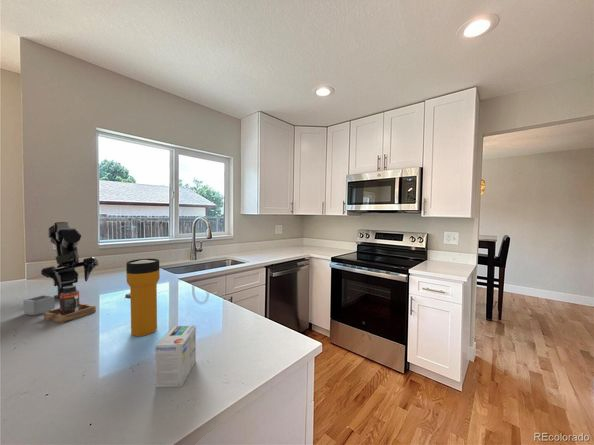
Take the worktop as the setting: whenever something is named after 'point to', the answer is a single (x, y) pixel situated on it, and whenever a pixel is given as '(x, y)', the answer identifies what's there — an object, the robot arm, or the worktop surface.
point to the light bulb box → (175, 356)
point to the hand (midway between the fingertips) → (73, 284)
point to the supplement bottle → (69, 300)
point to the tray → (55, 314)
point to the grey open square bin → (39, 304)
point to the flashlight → (143, 294)
